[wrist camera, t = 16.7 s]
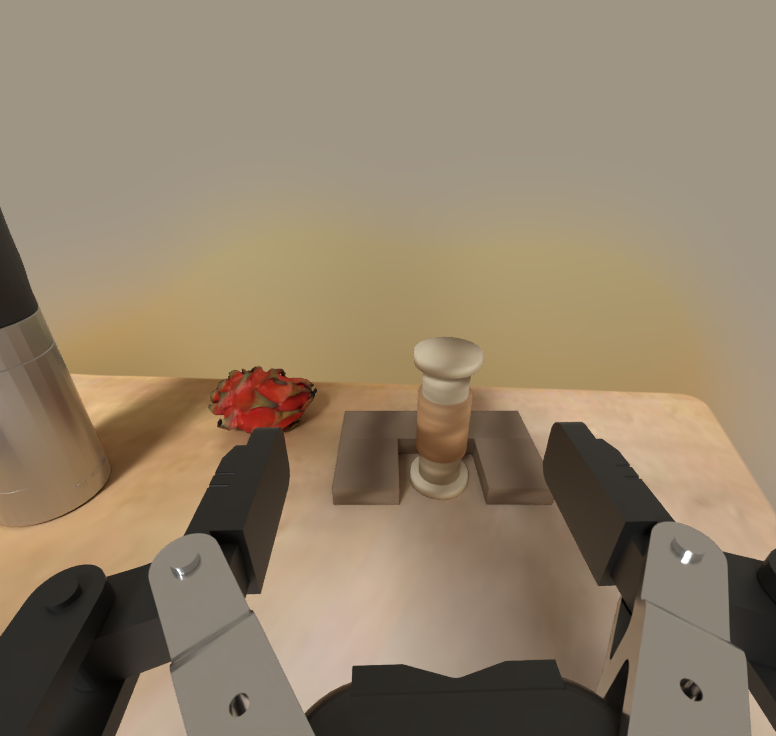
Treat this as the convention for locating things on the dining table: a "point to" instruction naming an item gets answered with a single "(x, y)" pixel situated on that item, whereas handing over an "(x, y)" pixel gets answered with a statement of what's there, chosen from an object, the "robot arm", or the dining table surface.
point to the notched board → (398, 435)
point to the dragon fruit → (261, 399)
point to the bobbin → (443, 415)
